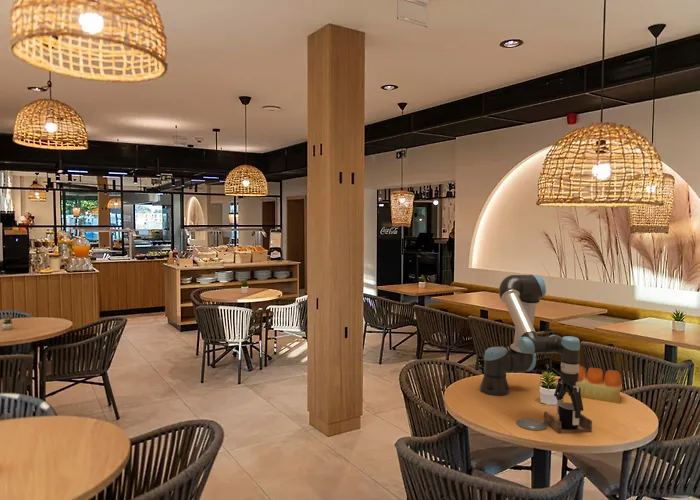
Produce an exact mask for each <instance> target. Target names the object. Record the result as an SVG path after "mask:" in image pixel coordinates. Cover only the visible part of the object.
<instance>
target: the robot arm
mask: <svg viewBox="0 0 700 500" xmlns="http://www.w3.org/2000/svg"><path fill="white" fill-rule="evenodd" d="M499 284H500V285H499V287H498V293H499V294H498V295H499V297H500V301H501V302H502V303H504V304H505V305H506V306H505V307H506V308H507V311H508V313H509V315H510V317H511V319H512V322H513V324H514V326H515V329H514V330H515V331H514V338H513V343H511V344H510V347H509V349H508V348H506V347H504V346H491V347H488V348H487V349H486V350H485V351H484V355H483V356H484V357H483V359H484V360H483V366H484V367H483V377H482V380H481V382H480V386H479V387H480V388H479V390H480V392H481V393H483V392H484V394H486V395H491V396H507V395H509V393H510V387H509V383H508V380H507V379H508V378H507V373H526V372H531V371H533V369H535V367H536V364H537V355H536V354H558V355H560V374H559V375H560V376H559V378H558V379H557V385H556V388H555V391H554V394H553V396H554V397H555V398H556V415H559V404H560V403H563V402H564V397H565V396H566V393H567V395H568V394H569V395H568V396H569V398H570V400H571V403H572V404H573V407H574V410H573V420H572V425H578V426H580V425H579V418H580V411H581V412H583V411H584V405H583V398H582V397H581V393H580V391H581V389H580V387H576V382H578V378H579V374H578V372H579V366H580V356H581V355H580V354H581V353H580V351H581V344H580V343H581V342H580V339H579V338H578V337H576V336H572V335H570V336H569V335H568V336H560V335H556V334H551V335H549V336H538V334H537V332H536V329H535V327H534V321H535V315H536V307H537V305H538V304H540V300H541V299H542V298H544V297H545V296H546V293H547V288H546V287H547V286H546V283H545V280H544V278H543V277H542V276H540V275H537V274H510V275H508V276H506V277H504V278H503V280H502V281H501V283H499ZM573 392H574V393H573Z"/></svg>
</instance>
